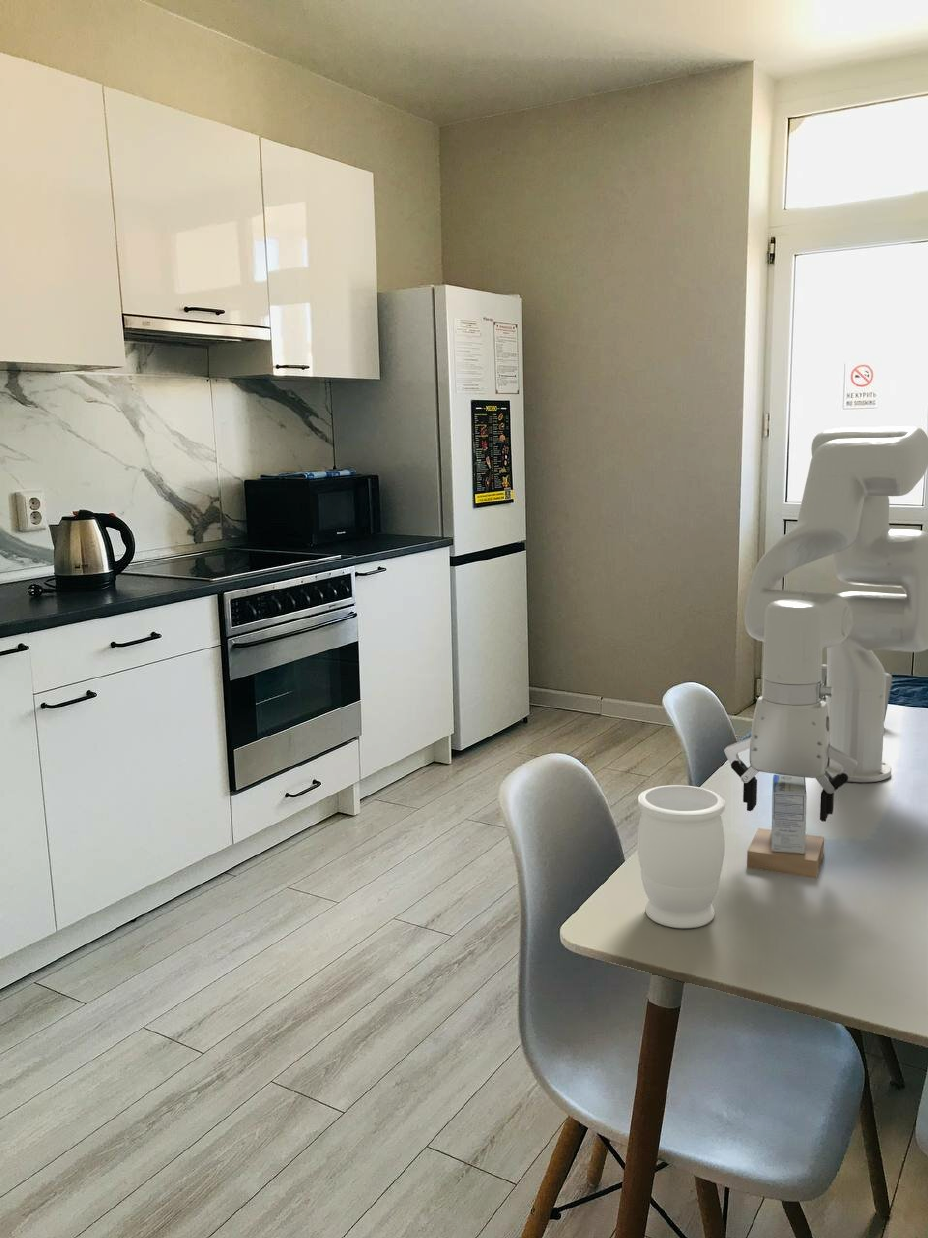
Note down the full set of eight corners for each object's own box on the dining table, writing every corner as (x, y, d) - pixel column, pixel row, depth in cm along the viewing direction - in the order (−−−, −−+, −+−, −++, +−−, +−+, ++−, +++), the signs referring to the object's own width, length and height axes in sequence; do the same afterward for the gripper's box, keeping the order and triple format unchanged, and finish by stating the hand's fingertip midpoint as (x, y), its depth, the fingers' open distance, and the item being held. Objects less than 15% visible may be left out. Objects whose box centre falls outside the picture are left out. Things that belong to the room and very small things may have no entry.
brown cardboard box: (757, 847, 146) (758, 828, 145) (823, 857, 142) (824, 837, 141) (746, 871, 138) (747, 851, 137) (816, 882, 134) (816, 861, 133)
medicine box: (805, 856, 135) (807, 794, 134) (770, 852, 136) (772, 791, 135) (803, 833, 143) (806, 775, 141) (770, 831, 144) (772, 772, 142)
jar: (706, 942, 117) (708, 819, 115) (623, 922, 123) (624, 804, 120) (734, 906, 126) (737, 792, 124) (655, 889, 132) (657, 778, 129)
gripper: (863, 691, 135) (857, 813, 138) (732, 680, 143) (729, 796, 146) (856, 704, 128) (851, 832, 131) (720, 692, 136) (717, 813, 139)
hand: (787, 813), depth 139 cm, fingers open, 9 cm apart
